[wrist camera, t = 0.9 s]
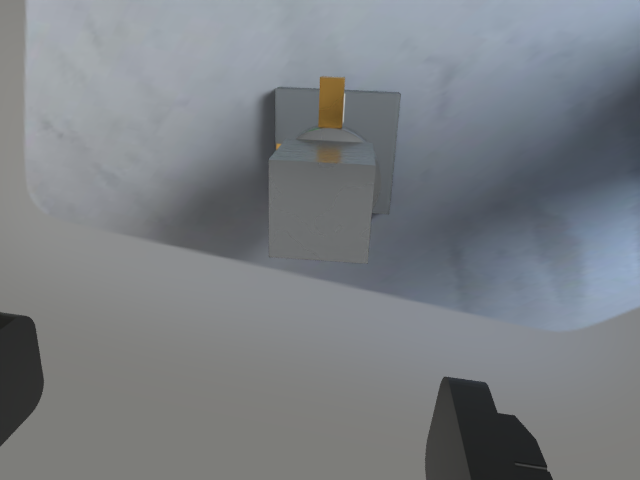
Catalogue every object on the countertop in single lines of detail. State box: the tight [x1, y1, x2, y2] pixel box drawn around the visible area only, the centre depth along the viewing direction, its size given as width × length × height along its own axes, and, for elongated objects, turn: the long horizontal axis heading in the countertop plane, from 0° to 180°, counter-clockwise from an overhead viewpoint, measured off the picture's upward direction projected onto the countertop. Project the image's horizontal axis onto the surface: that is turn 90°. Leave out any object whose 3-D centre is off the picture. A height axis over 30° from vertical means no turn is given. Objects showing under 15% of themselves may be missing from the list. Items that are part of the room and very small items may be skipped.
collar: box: [269, 76, 381, 264], centre depth 23 cm, size 6×8×7 cm
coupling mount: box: [275, 87, 401, 214], centre depth 30 cm, size 8×8×7 cm
